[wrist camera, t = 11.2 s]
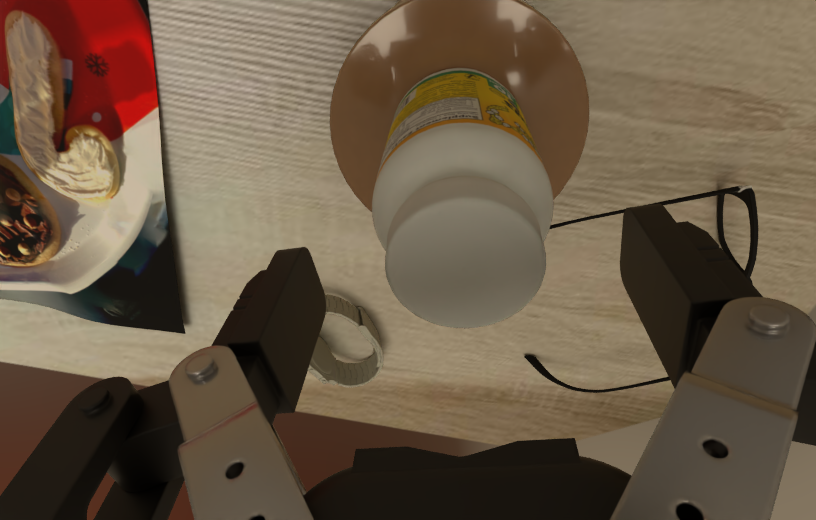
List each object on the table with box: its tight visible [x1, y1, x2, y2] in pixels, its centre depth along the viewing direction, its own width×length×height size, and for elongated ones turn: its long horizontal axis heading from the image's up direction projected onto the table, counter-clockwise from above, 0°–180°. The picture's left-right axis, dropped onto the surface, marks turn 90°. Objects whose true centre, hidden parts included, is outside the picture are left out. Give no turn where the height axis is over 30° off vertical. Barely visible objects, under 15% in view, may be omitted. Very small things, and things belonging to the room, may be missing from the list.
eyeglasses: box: [524, 185, 758, 393], centre depth 35 cm, size 16×16×4 cm
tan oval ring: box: [308, 295, 383, 387], centre depth 39 cm, size 9×6×5 cm
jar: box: [330, 0, 589, 212], centre depth 24 cm, size 11×11×11 cm
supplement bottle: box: [372, 68, 553, 328], centre depth 16 cm, size 5×5×10 cm
